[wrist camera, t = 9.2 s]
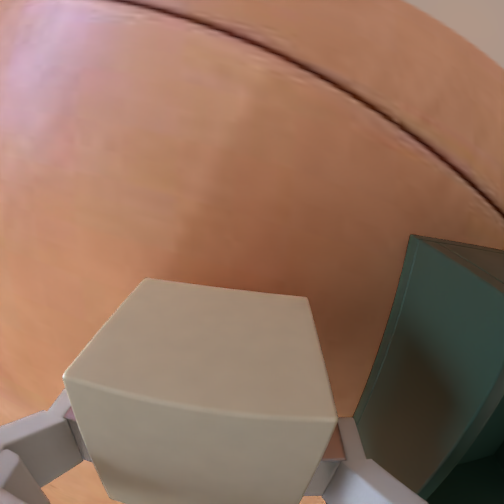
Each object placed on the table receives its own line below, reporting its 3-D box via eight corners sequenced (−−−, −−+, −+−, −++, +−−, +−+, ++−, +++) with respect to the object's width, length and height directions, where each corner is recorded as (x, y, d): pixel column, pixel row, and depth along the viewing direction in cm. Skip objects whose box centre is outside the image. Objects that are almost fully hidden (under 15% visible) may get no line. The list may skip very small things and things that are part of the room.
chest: (409, 233, 11) (526, 310, 5) (582, 267, 11) (651, 308, 5) (322, 479, 16) (333, 570, 9) (490, 451, 16) (522, 509, 9)
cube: (144, 275, 9) (59, 375, 5) (308, 296, 9) (341, 419, 5) (151, 395, 11) (109, 499, 6) (282, 413, 11) (286, 528, 6)
